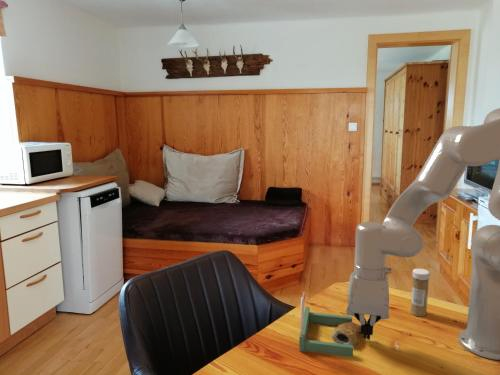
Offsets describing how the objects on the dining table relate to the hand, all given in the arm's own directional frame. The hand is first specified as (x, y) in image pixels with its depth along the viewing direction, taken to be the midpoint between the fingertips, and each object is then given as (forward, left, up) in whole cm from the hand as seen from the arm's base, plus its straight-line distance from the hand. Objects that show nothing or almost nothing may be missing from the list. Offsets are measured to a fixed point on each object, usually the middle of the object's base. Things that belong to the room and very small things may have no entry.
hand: (366, 336), depth 102 cm
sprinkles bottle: (-16, -19, -2) cm, 25 cm away
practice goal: (+10, 0, -1) cm, 10 cm away
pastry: (+5, -1, -2) cm, 5 cm away
